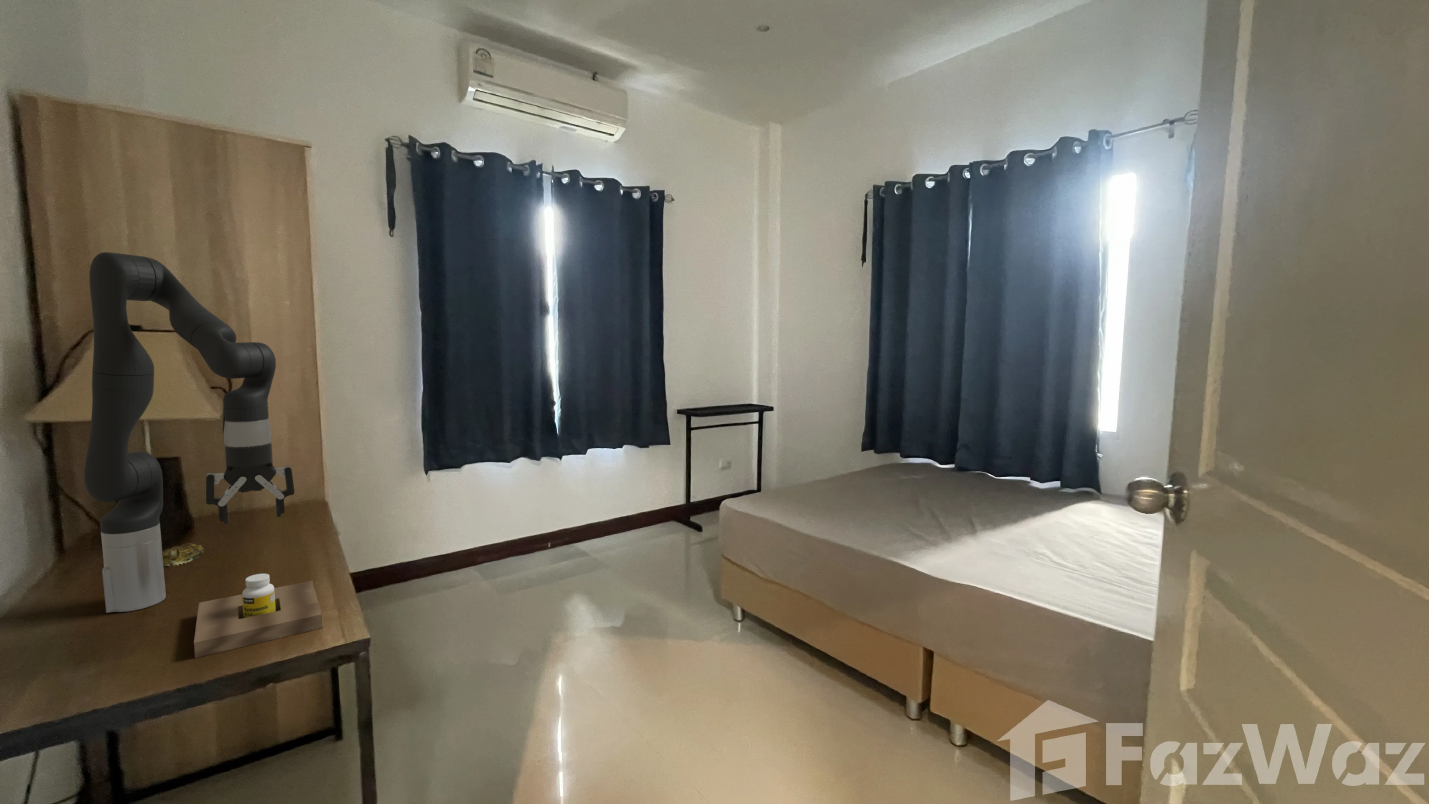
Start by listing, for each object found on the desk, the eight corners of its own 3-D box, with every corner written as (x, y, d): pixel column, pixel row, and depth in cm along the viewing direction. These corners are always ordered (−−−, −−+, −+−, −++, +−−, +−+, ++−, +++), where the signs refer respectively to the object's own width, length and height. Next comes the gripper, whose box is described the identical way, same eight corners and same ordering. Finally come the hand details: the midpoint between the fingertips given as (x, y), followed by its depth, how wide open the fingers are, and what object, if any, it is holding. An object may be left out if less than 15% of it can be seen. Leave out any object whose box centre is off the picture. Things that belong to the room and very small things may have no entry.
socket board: (195, 658, 113) (193, 642, 113) (200, 616, 128) (198, 602, 128) (322, 627, 125) (321, 614, 125) (312, 593, 141) (312, 580, 140)
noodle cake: (164, 555, 164) (150, 574, 151) (161, 538, 163) (146, 556, 150) (208, 545, 168) (198, 563, 156) (205, 529, 168) (194, 546, 155)
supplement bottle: (239, 629, 124) (236, 583, 122) (250, 617, 129) (247, 573, 127) (270, 626, 125) (267, 580, 124) (280, 614, 130) (277, 570, 129)
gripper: (201, 448, 115) (207, 530, 117) (292, 441, 124) (296, 518, 126) (203, 441, 121) (208, 520, 123) (290, 435, 130) (293, 509, 132)
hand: (253, 519), depth 124 cm, fingers open, 8 cm apart
